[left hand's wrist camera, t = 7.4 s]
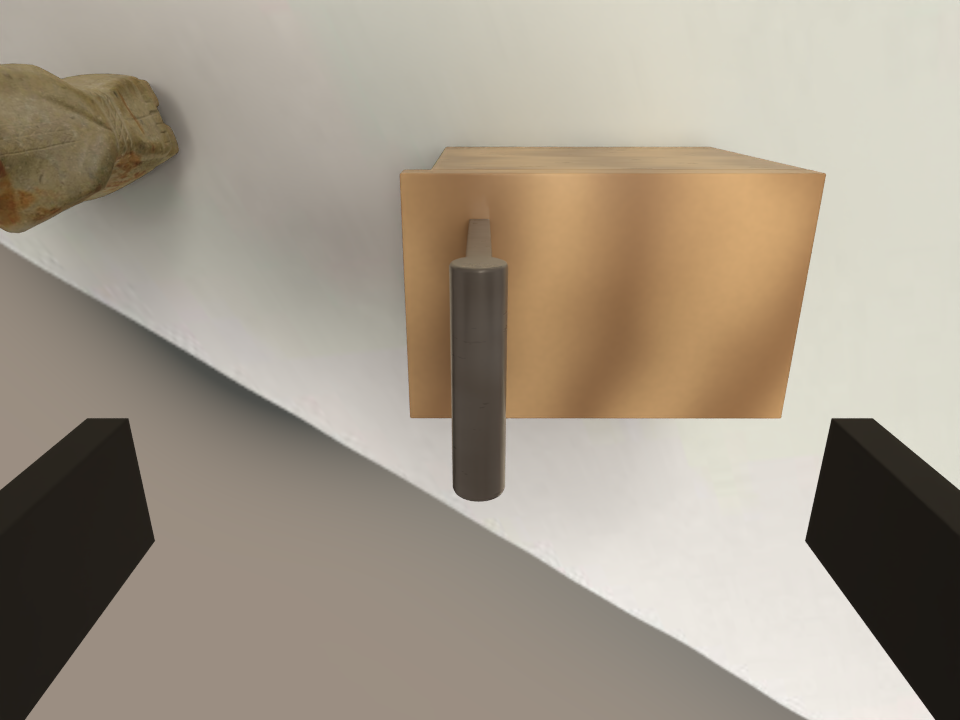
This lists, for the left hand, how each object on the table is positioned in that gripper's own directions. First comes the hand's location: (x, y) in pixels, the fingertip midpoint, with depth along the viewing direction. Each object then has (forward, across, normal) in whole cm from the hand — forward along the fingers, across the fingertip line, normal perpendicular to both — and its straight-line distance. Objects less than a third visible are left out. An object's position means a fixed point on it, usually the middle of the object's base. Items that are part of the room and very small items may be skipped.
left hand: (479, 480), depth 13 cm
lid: (+13, +4, 0) cm, 13 cm away
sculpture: (+23, -18, +5) cm, 30 cm away
